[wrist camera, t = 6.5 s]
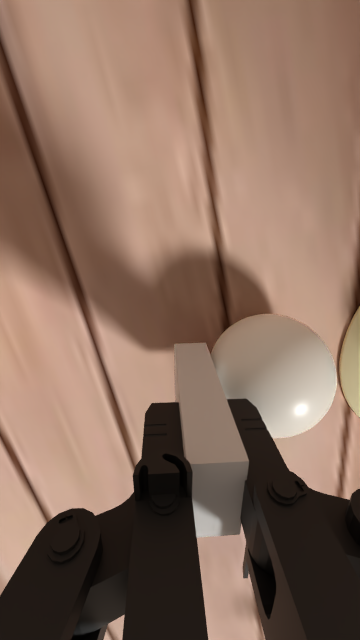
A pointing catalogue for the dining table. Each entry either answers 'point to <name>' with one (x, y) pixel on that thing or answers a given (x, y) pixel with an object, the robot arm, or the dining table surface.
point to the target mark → (351, 364)
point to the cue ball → (277, 371)
